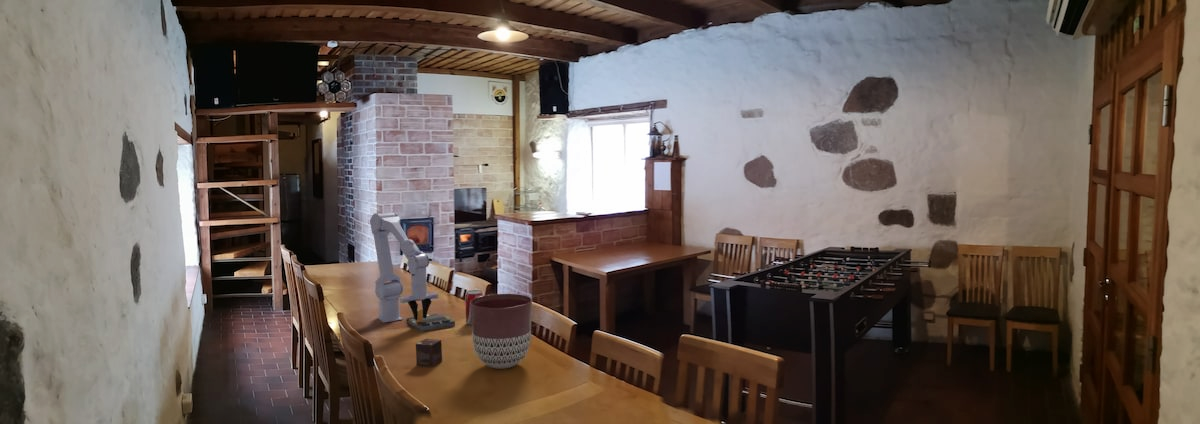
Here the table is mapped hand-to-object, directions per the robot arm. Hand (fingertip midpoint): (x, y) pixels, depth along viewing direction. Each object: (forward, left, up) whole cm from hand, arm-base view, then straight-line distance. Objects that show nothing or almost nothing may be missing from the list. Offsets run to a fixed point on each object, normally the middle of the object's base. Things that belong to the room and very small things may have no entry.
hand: (420, 318), depth 248 cm
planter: (+60, +7, -3) cm, 61 cm away
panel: (0, +5, -3) cm, 6 cm away
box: (+44, -12, -4) cm, 46 cm away
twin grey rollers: (-9, +5, -3) cm, 11 cm away
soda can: (+8, +20, -3) cm, 21 cm away
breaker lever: (0, 0, -1) cm, 1 cm away
